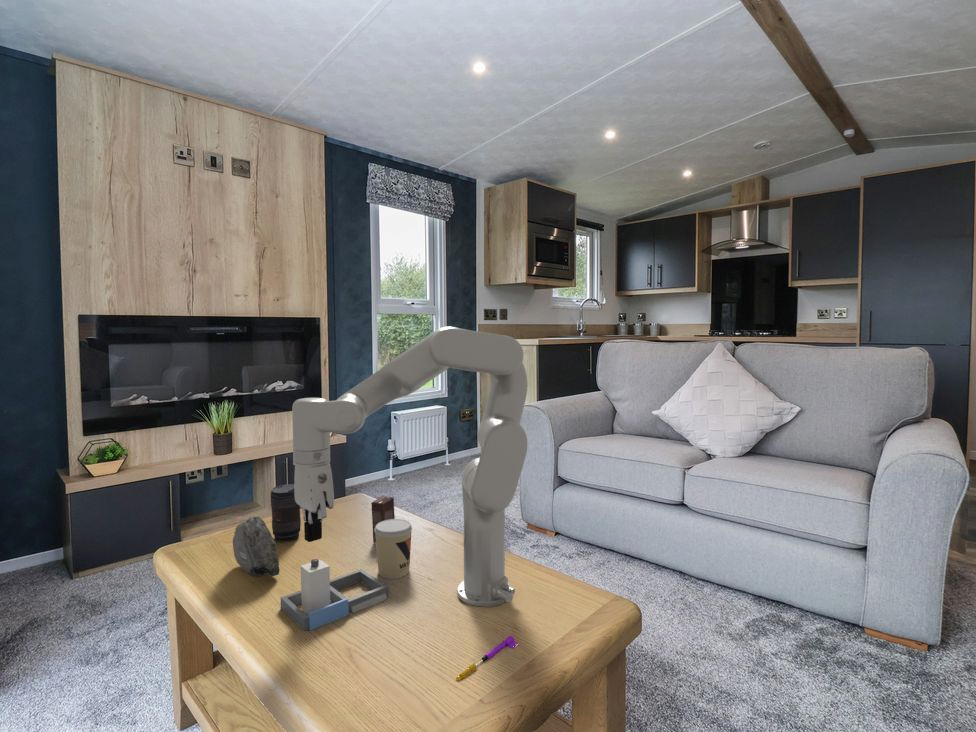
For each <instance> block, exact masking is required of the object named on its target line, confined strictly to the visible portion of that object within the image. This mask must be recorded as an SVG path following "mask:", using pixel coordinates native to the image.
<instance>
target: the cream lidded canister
mask: <svg viewBox="0 0 976 732" xmlns="http://www.w3.org/2000/svg"><path fill="white" fill-rule="evenodd" d="M412 530H413V525H412V523H411V521H409V520H406V519H403V518H402V519H401V518H395V519H390V520H385V521H382V522H379V523H378V524H377V525H376V527H375V529H374V531H375V538H376V543H375V549H376V559H377V560H376V561H377V569H378V570H377V572H378V575H379V576H380V577H382V578H386V579H397V578H402V577H404V576H406V575H407V574H408V573H409V572H410V565H411V548H412Z"/></svg>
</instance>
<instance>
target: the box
mask: <svg viewBox="0 0 976 732" xmlns="http://www.w3.org/2000/svg"><path fill="white" fill-rule="evenodd" d="M370 504H371V519H372V522H371V523H372V524H371V525H372V537H373V538H372V540H373V541H372V543H375V544H376V538H375V531H374V529H375V527H376V525H377V524H378V523H379V522H382V521H385V520H390V519H396V517H395V497H394V496H385V495H384V496H383V495H382V496H380V497H379V498H377V499H375V500H373V501H371V503H370Z"/></svg>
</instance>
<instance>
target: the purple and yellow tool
mask: <svg viewBox="0 0 976 732" xmlns="http://www.w3.org/2000/svg"><path fill="white" fill-rule="evenodd" d="M515 644H519V643H518V642H516V641H515V637H514V636H513V635H509V636H507V637H506V638H505V639H503V640H502V642H500V643H499V644H497V645H496V646H495V647H494V648H492V649H490V650H489V652H487V653H486V654H484V656H483V657H482V658H481V660H480V661H479V662H478V663H476V664H475V663H472V664H470V665H468V667H467V668H466V669H465V670H463V671H461V673H459V675H458V676H457V677H456V678H455V679H456V681H457V682H461V680H463V679H465V678H466V677H467V676H469V675H470V674H471V673H473V672H475V671H476V670H477V666H478V665H480V664H481V663H482V662H484V663H485V662H487V661H488V660H490V659H491V658H493V657H494V656H496V654H498V653H499V652H500V651H502V650H503V649H504V648H505V647H507V648H510V649H512V648H514V647H515V646H516V645H515ZM513 646H514V647H513ZM514 649H515V648H514Z"/></svg>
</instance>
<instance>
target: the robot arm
mask: <svg viewBox="0 0 976 732" xmlns="http://www.w3.org/2000/svg"><path fill="white" fill-rule="evenodd" d="M523 362H524V350H523V347H522V345H521V343H520V342H519V341H518V340H517V339H516V338H515V337H512V336H509V335H505V334H497V333H492V332H484V331H476V330H470V329H465V328H459V327H456V326H443V327H440V328H438V329H436V330H435V331H433V332H431V333H429V334H428V335H427V336H425V337H424V338H422V339H421V340H420V341H419V342H417V343H415V344H414V345H413V346H411V347H410V348H407V350H405V351H404V352H402V353H400V354H399V355H398V356H396V357H394V358H393V359H392V360H390V361H388V362H387V363H386V364H384V365H383V366H382V367H381V368H380V369H379V370H377V371H376V372H374V373H373V374H371V375H369V377H367V378H366V379H364V380H363V381H361V382H359V383H357V385H355V386H354V387H351V389H349V390H348V391H346V392H344V393H343V394H341V396H339V397H338V398H337V399H336V400H327V399H326V398H324V397H323V398H322V397H304V398H298V399H295V401H294V402H293V403H292V407H291V409H292V410H291V412H292V414H291V415H292V417H291V418H292V419H291V420H292V462H293V463H292V464H293V466H294V478H293V479H294V483H293V485H294V495H295V501H296V503H297V504H298V505H300V509H302V518H303V523H304V527H303V528H304V531H303V533H304V540H305V541H307V543H312V542H314V541H317V540H318V541H319V540H321V539H322V538H323V527H322V526H323V525H322V523H323V521H324V519H325V518H328V515H327V514H328V513H327V509H329V510H332V509H333V508H335V493H334V480H333V472H332V467H331V434H339V435H350V434H354V433H356V432H358V431H359V430H360V429H362V427H363V425H364V424H365V422H366V419H367V418H368V417H369V416H371V415H373V414H374V413H375V412H377V411H378V410H379V409H381V408H382V407H384V406H385V405H388V404H389V403H391V402H392V401H395V400H396V399H400V398H404V397H407V396H409V395H411V394H414V393H415V392H417V391H418V390H419V389H421V388H422V387H423V386H425V385H427V384H428V383H429V382H430V381H432V380H434V379H435V378H437V377H438V376H439V375H441V374H442V373H444V372H445V371H447V370H448V369H449V368H451V369H457V370H462V371H468V372H476V373H483V374H489V379H490V384H489V392H488V396H487V401H486V405H485V408H484V411H483V415H482V417H481V421H480V424H479V427H478V430H477V441H478V444H479V446H480V447H481V453H480V456H479V457H475V458H474V459H472V460H471V461H469V462H468V463H467V464H466V466H465V467H464V469H463V472H462V477H461V492H462V494H461V495H462V505H463V506H462V507H463V580H462V581H461V582H459V584H458V586H457V589H456V592H457V594H456V595H457V596H458V598H459V599H460V601H462V602H464V604H465V603H466V604H468V605H471V606H475V607H494V606H498V605H501V604H502V603H505V602H506V603H510V602H511V600H512V598H513V596H514V595H515V593H516V589H515V588H514V587H512V586H511V584H510V583H509V577H508V576H507V575H505V574H506V571H505V569H506V566H505V565H506V562H505V561H506V557H505V554H506V553H505V552H506V551H505V549H506V547H505V546H506V545H505V544H506V543H505V542H506V541H505V540H506V535H505V534H506V533H505V532H506V530H505V528H506V509H507V508H508V506H509V505H510V504H511V502H512V501H513V499H514V498H515V497H514V496H515V494H516V492H517V488H518V485H519V480H520V478H521V474H522V471H523V467H524V464H525V461H526V456H527V453H528V436H527V434H526V433H527V432H526V430H525V429H524V428H523V427H522V425H521V419H522V416H523V411H524V409H525V403H526V400H527V395H528V376H527V371H526V368H525V366H524V363H523Z"/></svg>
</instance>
